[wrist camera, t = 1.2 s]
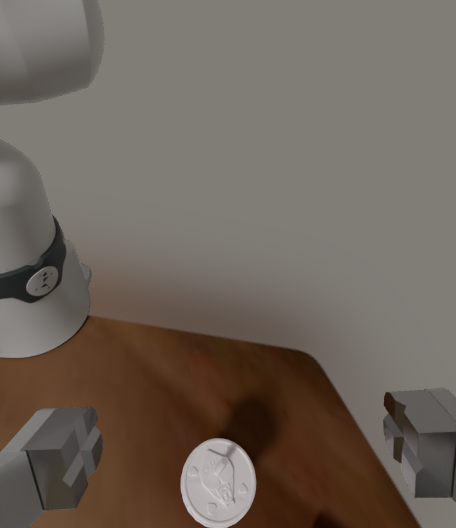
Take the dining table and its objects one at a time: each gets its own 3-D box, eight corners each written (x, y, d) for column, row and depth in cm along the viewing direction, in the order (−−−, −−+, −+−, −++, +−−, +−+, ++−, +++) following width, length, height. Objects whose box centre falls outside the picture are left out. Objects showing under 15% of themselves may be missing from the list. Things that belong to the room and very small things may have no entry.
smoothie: (220, 450, 38) (244, 409, 28) (247, 512, 34) (286, 492, 24) (166, 479, 35) (171, 445, 25) (190, 549, 32) (207, 544, 22)
